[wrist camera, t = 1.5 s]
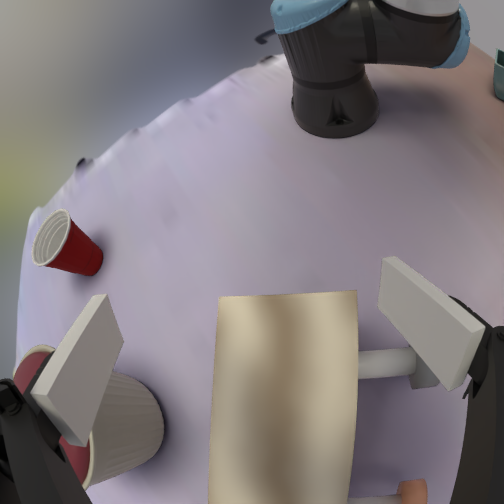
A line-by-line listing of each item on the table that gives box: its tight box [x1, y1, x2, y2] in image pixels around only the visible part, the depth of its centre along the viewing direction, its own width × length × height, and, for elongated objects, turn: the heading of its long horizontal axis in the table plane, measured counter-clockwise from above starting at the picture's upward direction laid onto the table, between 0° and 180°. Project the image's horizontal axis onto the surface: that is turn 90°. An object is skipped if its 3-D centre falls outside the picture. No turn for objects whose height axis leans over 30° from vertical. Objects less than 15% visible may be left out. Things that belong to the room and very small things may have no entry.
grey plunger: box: [358, 344, 440, 389], centre depth 22 cm, size 12×5×5 cm, turn 87°
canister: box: [13, 345, 164, 491], centre depth 26 cm, size 18×18×21 cm
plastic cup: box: [32, 209, 103, 276], centre depth 45 cm, size 11×11×12 cm
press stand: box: [208, 290, 358, 504], centre depth 22 cm, size 10×24×15 cm, turn 177°
